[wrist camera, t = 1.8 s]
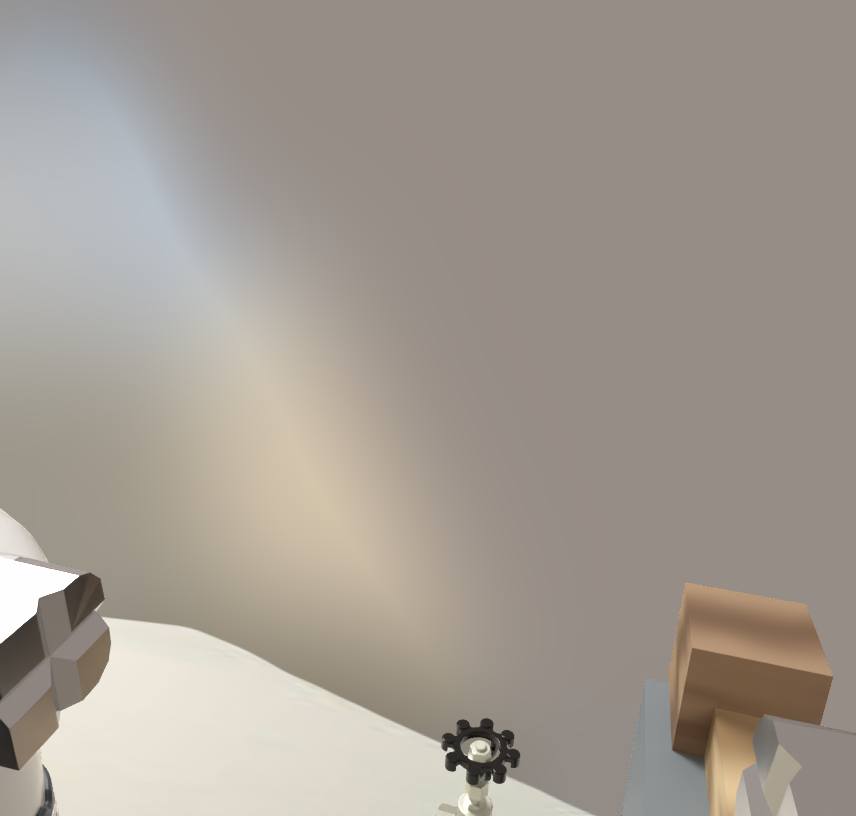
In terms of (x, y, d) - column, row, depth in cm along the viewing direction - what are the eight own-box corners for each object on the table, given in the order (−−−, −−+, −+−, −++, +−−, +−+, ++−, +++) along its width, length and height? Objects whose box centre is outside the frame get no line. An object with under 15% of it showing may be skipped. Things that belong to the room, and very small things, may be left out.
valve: (443, 814, 67) (451, 709, 63) (513, 833, 66) (525, 727, 62) (424, 877, 61) (432, 765, 57) (501, 899, 60) (513, 786, 56)
